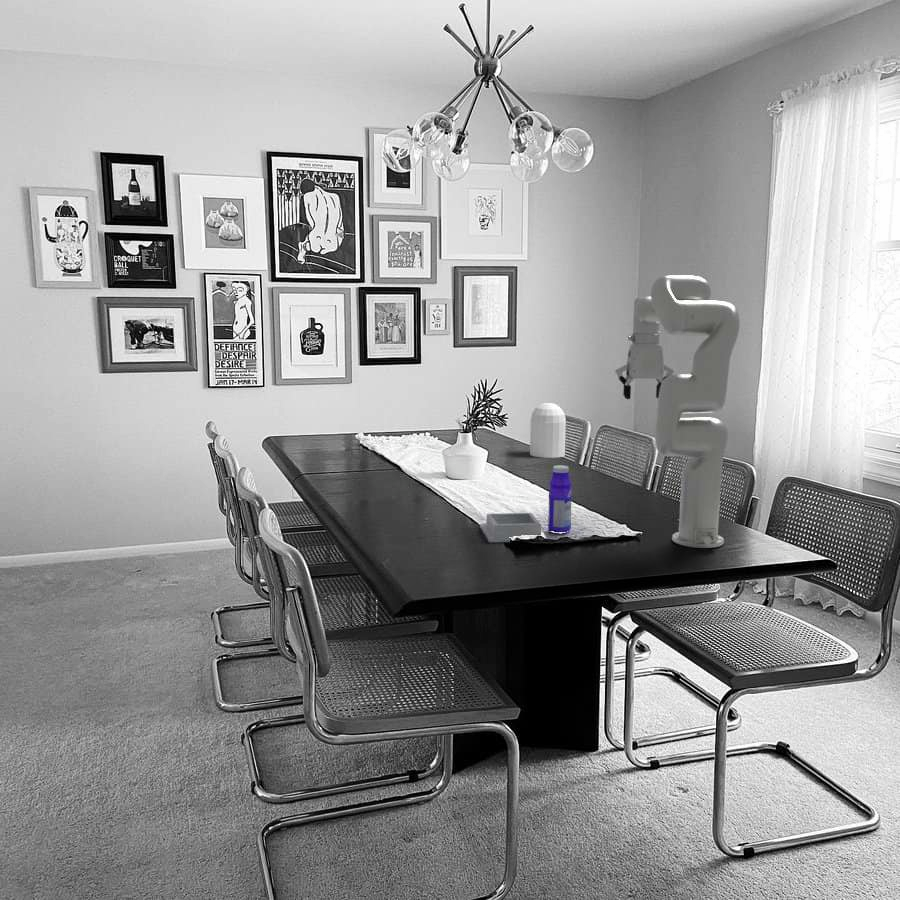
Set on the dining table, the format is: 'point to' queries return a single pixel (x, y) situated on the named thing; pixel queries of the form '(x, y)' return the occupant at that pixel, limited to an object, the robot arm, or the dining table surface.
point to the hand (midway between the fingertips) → (643, 398)
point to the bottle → (560, 500)
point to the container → (547, 431)
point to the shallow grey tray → (509, 526)
